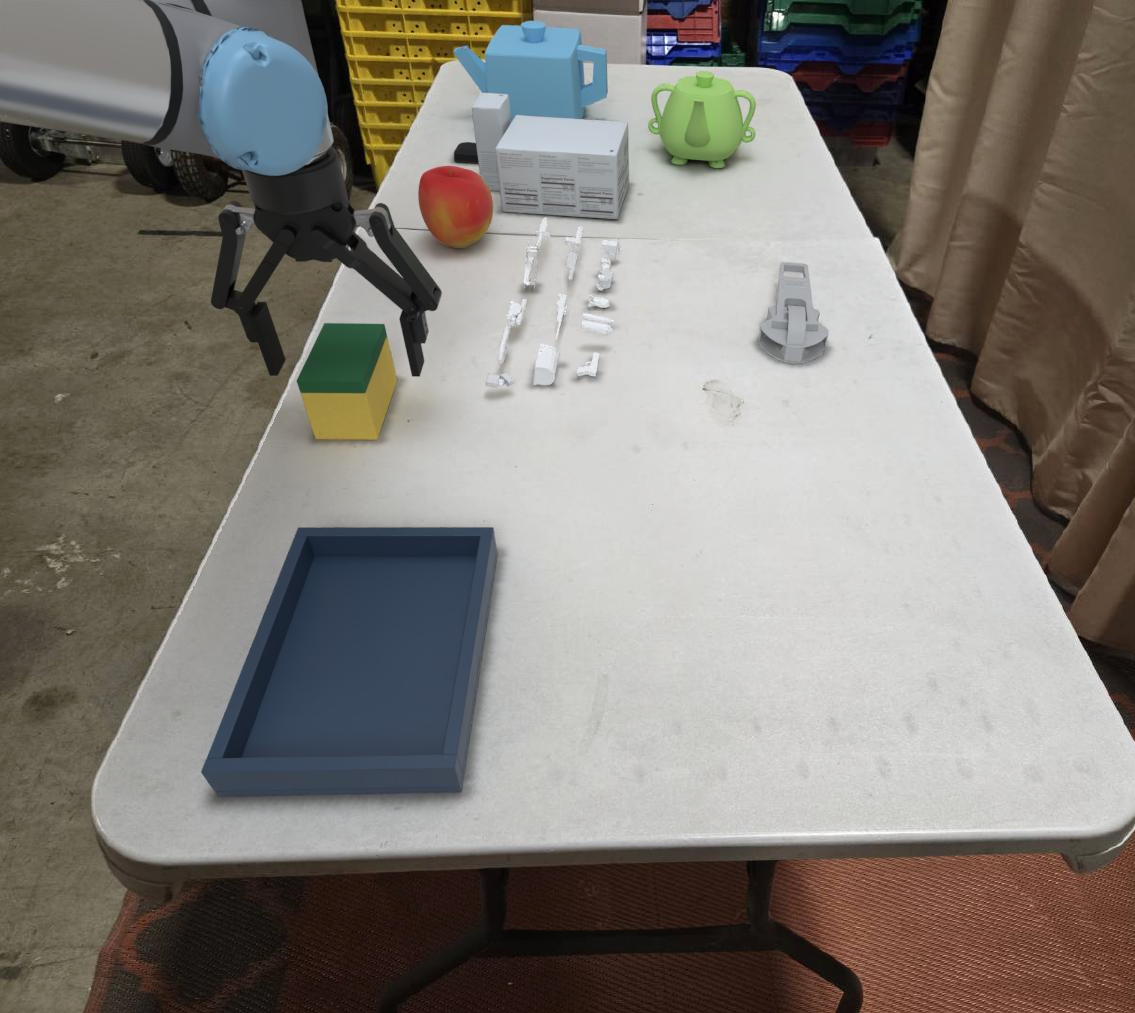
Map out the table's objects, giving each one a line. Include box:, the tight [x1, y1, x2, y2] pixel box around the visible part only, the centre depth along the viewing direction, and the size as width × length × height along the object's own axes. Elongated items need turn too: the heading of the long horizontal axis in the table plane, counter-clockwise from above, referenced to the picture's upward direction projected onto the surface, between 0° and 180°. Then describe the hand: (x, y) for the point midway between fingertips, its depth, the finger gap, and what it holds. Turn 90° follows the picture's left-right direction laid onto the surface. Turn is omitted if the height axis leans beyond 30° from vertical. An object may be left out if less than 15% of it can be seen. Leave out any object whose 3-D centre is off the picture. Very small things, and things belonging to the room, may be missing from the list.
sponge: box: [296, 322, 398, 441], centre depth 84 cm, size 10×6×7 cm, turn 2°
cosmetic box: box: [471, 92, 511, 192], centre depth 123 cm, size 6×4×12 cm
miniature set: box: [485, 217, 623, 389], centre depth 100 cm, size 6×35×12 cm
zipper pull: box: [757, 261, 830, 365], centre depth 101 cm, size 8×18×4 cm, turn 175°
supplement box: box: [495, 115, 630, 220], centre depth 121 cm, size 17×13×9 cm
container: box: [452, 20, 609, 122], centre depth 141 cm, size 17×25×15 cm
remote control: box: [453, 141, 479, 164], centre depth 133 cm, size 5×2×15 cm
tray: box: [200, 526, 498, 798], centre depth 63 cm, size 22×16×3 cm
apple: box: [417, 165, 494, 249], centre depth 110 cm, size 10×10×10 cm
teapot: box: [647, 70, 757, 169], centre depth 133 cm, size 16×14×13 cm
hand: (348, 368), depth 83 cm, fingers open, 13 cm apart
